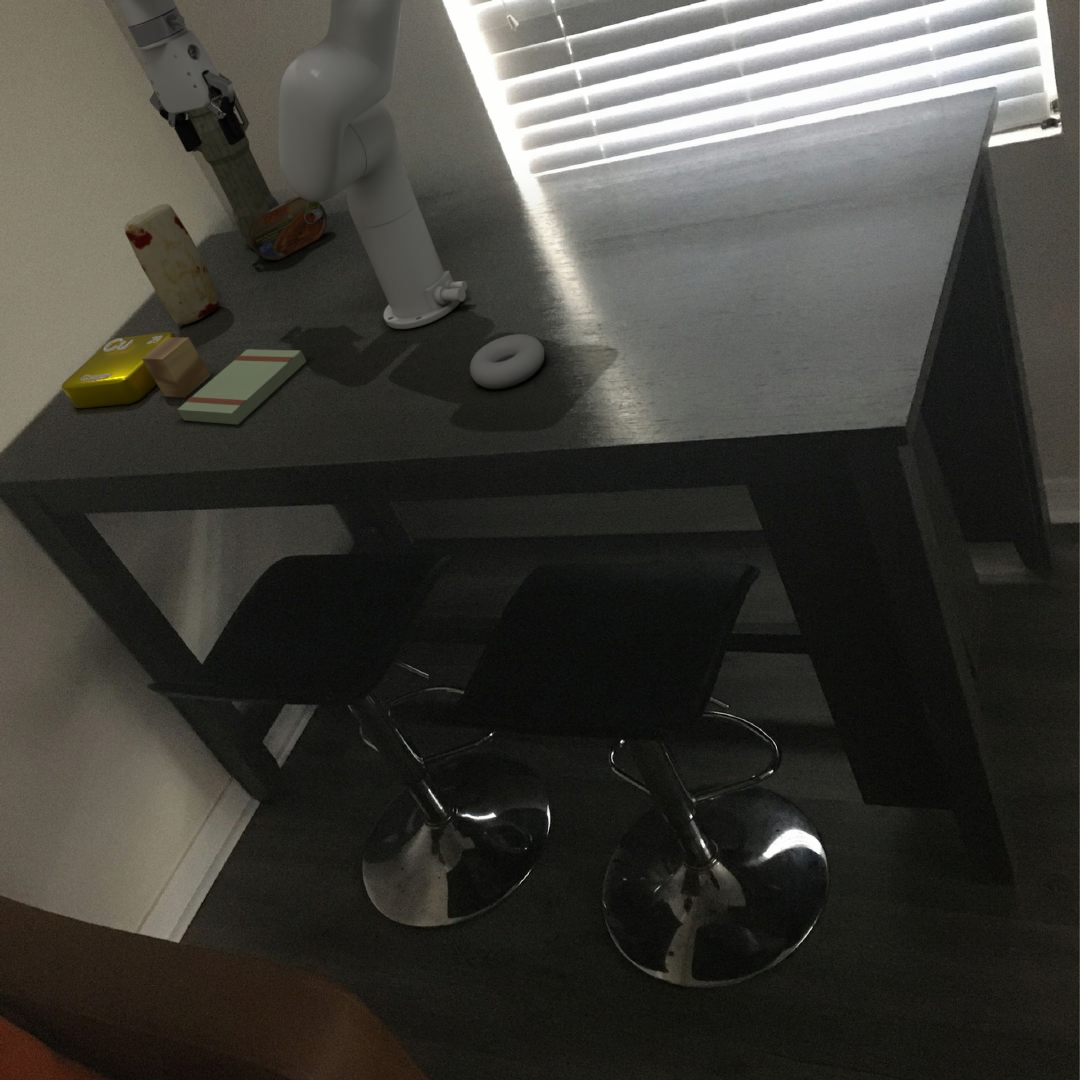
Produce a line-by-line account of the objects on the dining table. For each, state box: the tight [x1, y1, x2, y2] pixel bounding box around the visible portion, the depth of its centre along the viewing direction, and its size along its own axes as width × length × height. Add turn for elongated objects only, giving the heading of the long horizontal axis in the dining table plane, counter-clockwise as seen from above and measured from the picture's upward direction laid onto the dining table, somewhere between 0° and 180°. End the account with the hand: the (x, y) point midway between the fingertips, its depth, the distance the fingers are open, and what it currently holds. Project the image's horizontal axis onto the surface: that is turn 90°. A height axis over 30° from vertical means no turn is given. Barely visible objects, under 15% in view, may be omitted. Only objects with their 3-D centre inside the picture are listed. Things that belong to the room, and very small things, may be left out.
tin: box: [249, 195, 328, 261], centre depth 200 cm, size 15×3×8 cm, turn 120°
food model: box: [124, 203, 220, 326], centre depth 184 cm, size 10×7×20 cm
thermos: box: [186, 72, 280, 249], centre depth 201 cm, size 9×12×35 cm
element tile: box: [61, 331, 176, 409], centre depth 175 cm, size 15×15×5 cm
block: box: [142, 336, 211, 399], centre depth 166 cm, size 5×6×7 cm
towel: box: [176, 348, 307, 426], centre depth 160 cm, size 12×16×2 cm
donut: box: [469, 333, 545, 390], centre depth 139 cm, size 10×3×10 cm
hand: (215, 144), depth 165 cm, fingers open, 9 cm apart
